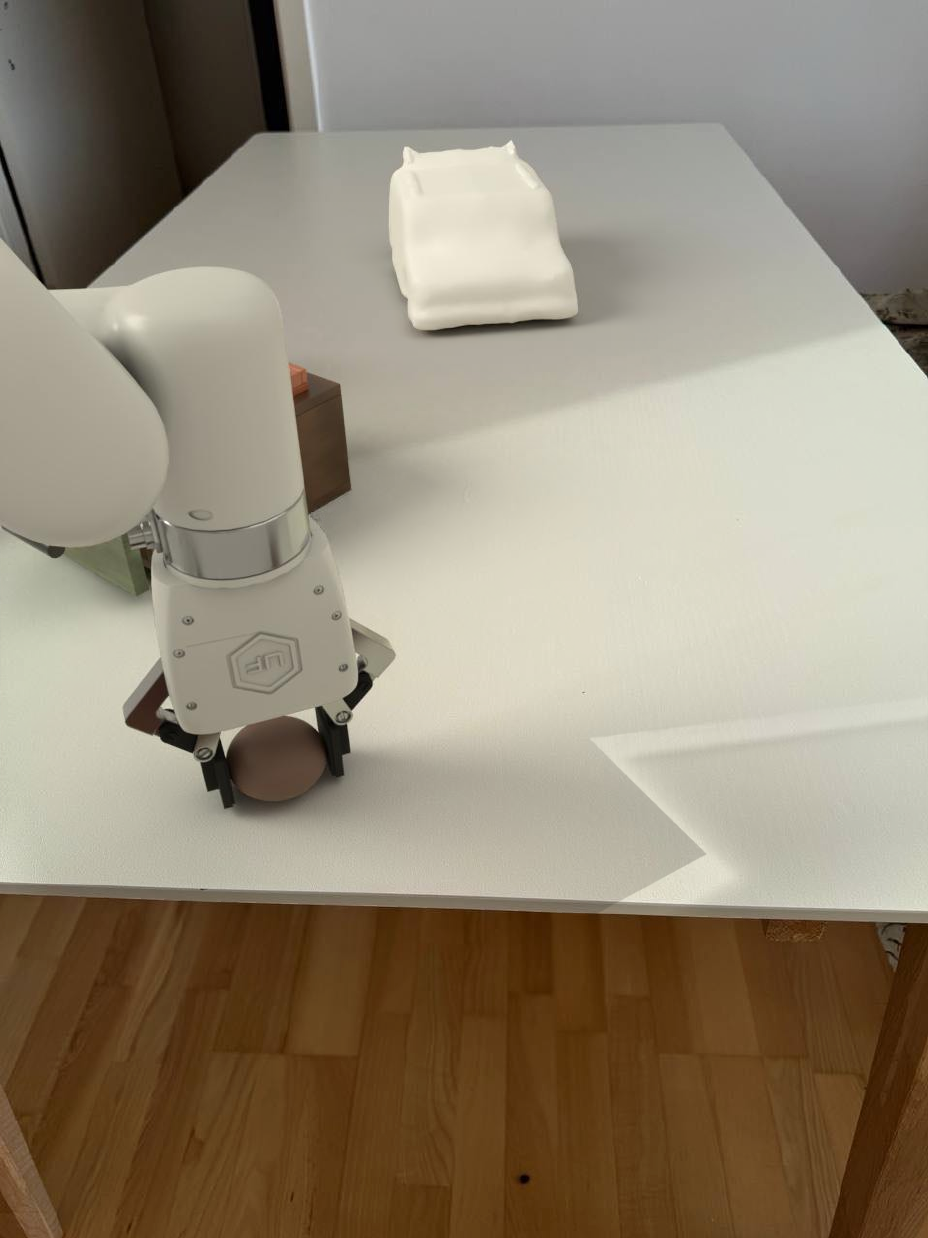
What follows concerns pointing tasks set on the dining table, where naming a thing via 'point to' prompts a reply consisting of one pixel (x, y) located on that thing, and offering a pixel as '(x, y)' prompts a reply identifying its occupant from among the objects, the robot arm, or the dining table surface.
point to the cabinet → (322, 441)
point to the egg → (276, 758)
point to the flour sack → (476, 240)
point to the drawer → (106, 560)
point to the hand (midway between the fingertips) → (279, 774)
